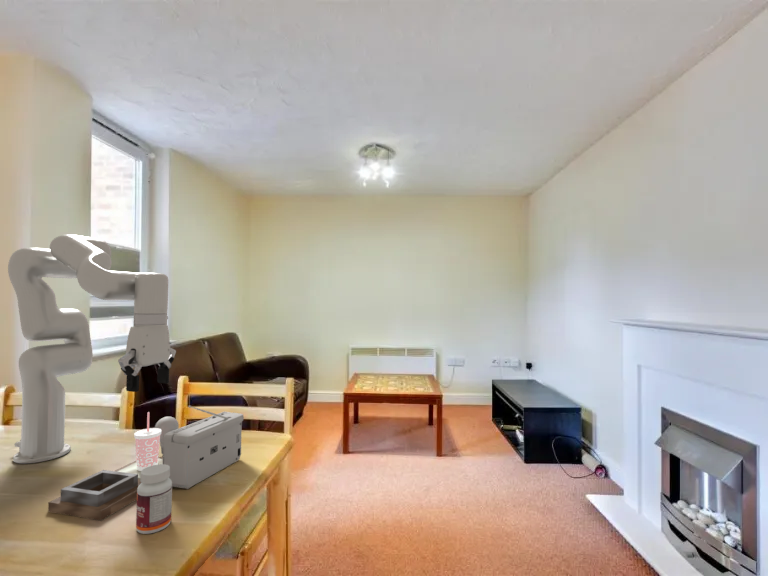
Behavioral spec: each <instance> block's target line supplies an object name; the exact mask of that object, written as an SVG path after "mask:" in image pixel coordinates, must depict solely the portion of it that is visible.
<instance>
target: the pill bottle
mask: <svg viewBox="0 0 768 576" xmlns="http://www.w3.org/2000/svg"><path fill="white" fill-rule="evenodd" d="M169 477H170V466H169V465H165V464H159V465H153V466H149V467H147V468H145V469H143V470H142V471H141V478H140V481H141V482H142V483H141V484H140V485H139V486H138V488H137V500H136V513H135V514H136V515H135V516H136V517H135V521H136V522H135V528H136V531H137V532H138V533H139V534H142V535H149V534H155V533H158V532H161V531H163V530H164V529H166V528H167V527H168V526H169V525H170V524H171V522H172V505H173V502H172V501H173V500H172V499H173V486H172V481H171V479H170V478H169Z"/></svg>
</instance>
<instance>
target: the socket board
mask: <svg viewBox="0 0 768 576" xmlns="http://www.w3.org/2000/svg"><path fill="white" fill-rule="evenodd" d="M159 464H163V456H158V465H159ZM140 478H141V471H138V470H137V462H136V460H135V461H134V460H133V461H132V462H130V463H128V464H126V465H124V466H121V467H119V468H118V469H115V470H109V469H108V470H107V469H102V470H99V471H98V472H95V473H93V474H92V475H89V476H87V477H85V478H82V479H80V480H78V481H76V482H74V483H72V484H69V485H68V486H64V487H63V488H61V489H60V496H59V497H57V498H54V499H52V500H50V501H48V505H47V512H48V513H53V514H60V515H66V516H71V517H78V518H84V519H89V520H96V521H103V520H105V519H106V518H108V517H110V516H111V515H113V514H114V513H116V512H118V511H120V510H122V509H123V508H125V507H127V506H129V505H130V504H132V503H133V502H136V501H137V488H138V486H139V485H140V484H141V483H142V482H141V481H140Z"/></svg>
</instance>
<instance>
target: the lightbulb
mask: <svg viewBox="0 0 768 576" xmlns="http://www.w3.org/2000/svg"><path fill="white" fill-rule="evenodd" d="M154 428H159V429H161V430H162V432H161V435H160V444H159V447H160V452H161V453H160V454H161V455H163V440H164V435H165V434H166V433H168V432H171V431H173V430H176V429H179V428H180V427H179V422H178V420H177V419H176V417H172V416H164V417H162V418H159V420H158V421H157V422H156V423H155V425H154Z"/></svg>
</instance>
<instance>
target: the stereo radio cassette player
mask: <svg viewBox="0 0 768 576" xmlns="http://www.w3.org/2000/svg"><path fill="white" fill-rule="evenodd" d="M188 408H190V409H191V408H192V409H195V410H197V411H201V412H202V413H206V414H209V415H211V416H209V417H206V418H202V419H200V420H198V421H195V422H192V423H190V424H188V425H185V426H181V427H178V429H176V430H173V431H171V432H168V433H166V434H165V435H164V440H163V454H162V457H163V464H165V465H169V466H170V477H169V478H170V479H171V481H172V488H180V489H186V490H189V489H190V488H191V487H193V486H195V485H197V484H199V483H201V482H202V481H204V480H205V479H208V478H209V477H211V476H213V475H215V474H216V473H218V472H220V471H222V470H223V469H225V468H227V467H229V466H231V465H233V464H234V463H236V462H238V461H239V460H240V459H241V455H242V426H243V421H244V420H245V419H244V418H245V417H244V414H243V413H240V412H239V413H238V412H230V411H221V412H219V413H215V412H212V411H208V410H204V409H201V408H197V407H193V406H192V405H188Z"/></svg>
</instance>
